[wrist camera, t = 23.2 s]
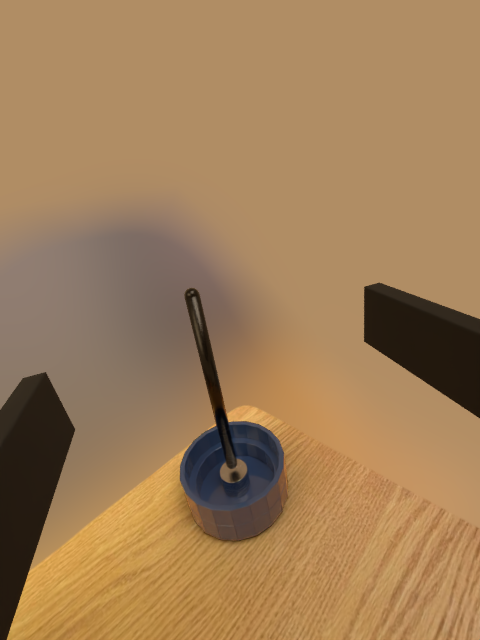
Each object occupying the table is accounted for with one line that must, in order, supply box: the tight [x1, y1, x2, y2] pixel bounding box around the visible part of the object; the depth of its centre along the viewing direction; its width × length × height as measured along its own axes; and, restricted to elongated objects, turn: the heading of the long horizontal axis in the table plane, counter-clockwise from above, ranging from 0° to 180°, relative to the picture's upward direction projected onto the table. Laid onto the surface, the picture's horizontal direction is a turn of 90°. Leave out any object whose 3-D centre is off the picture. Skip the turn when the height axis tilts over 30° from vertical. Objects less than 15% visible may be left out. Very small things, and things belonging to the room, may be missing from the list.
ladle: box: [185, 288, 250, 498], centre depth 29 cm, size 3×3×23 cm
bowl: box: [180, 421, 288, 541], centre depth 32 cm, size 11×11×5 cm
